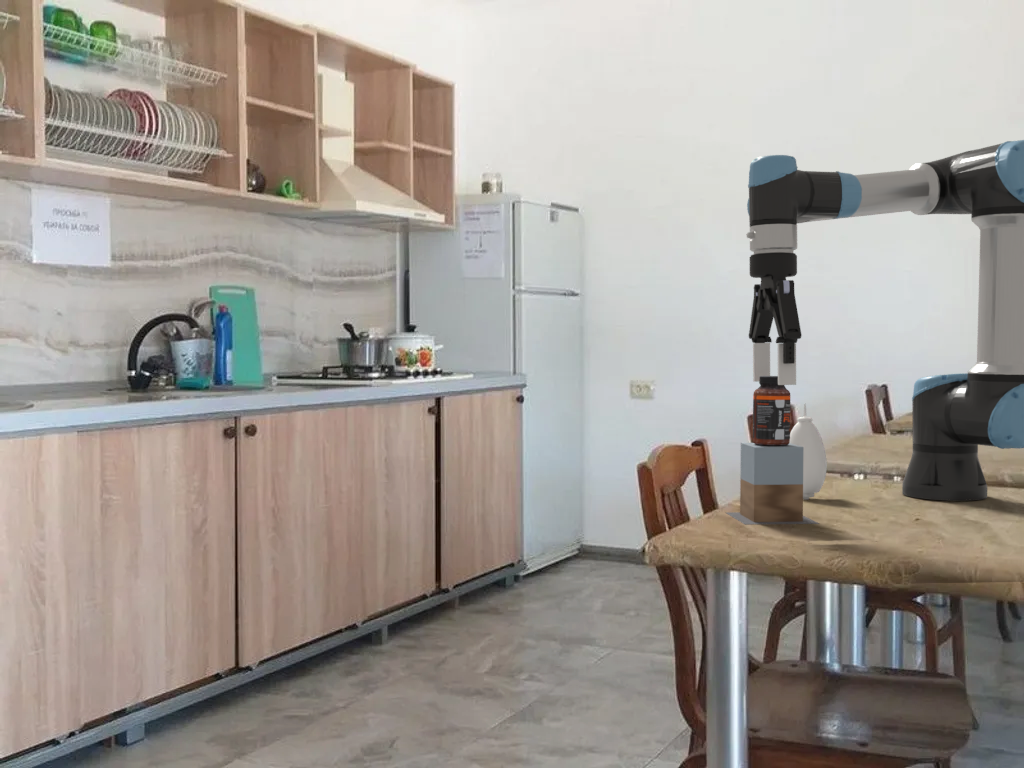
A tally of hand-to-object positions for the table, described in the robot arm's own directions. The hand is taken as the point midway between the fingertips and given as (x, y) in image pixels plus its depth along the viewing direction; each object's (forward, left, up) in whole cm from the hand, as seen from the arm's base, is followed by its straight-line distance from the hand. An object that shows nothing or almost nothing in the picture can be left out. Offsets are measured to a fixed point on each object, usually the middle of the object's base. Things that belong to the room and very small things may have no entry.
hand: (773, 383), depth 178 cm
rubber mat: (0, 0, -23) cm, 23 cm away
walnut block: (0, 0, -22) cm, 22 cm away
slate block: (0, 0, -16) cm, 16 cm away
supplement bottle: (0, 0, -10) cm, 10 cm away
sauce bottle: (-14, -25, -23) cm, 36 cm away
